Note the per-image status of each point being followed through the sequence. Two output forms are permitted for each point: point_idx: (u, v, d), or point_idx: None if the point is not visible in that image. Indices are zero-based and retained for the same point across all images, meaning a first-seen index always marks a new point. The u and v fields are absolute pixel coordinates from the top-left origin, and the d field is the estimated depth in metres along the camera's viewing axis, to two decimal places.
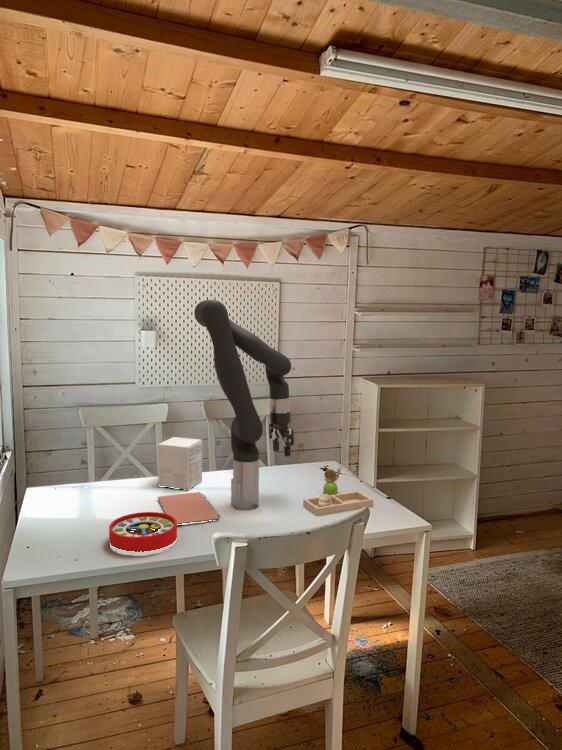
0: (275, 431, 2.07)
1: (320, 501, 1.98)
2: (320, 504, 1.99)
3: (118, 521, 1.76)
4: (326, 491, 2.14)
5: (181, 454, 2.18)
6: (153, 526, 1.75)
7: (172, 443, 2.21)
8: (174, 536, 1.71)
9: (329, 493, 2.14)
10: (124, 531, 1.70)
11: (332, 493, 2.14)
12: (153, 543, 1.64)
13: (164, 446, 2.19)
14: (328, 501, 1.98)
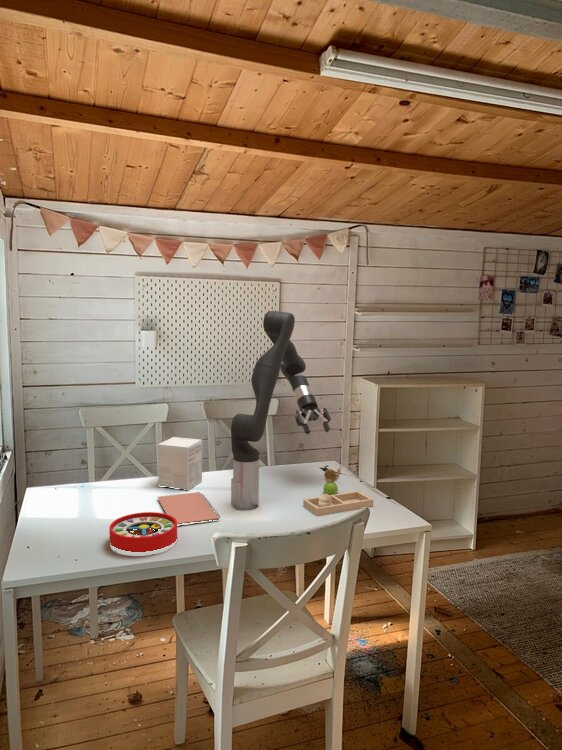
0: (311, 412, 2.27)
1: (320, 501, 1.98)
2: (320, 504, 1.99)
3: (119, 521, 1.76)
4: (326, 491, 2.14)
5: (181, 454, 2.18)
6: (153, 526, 1.75)
7: (172, 443, 2.21)
8: (174, 536, 1.70)
9: (329, 493, 2.14)
10: (124, 531, 1.70)
11: (332, 493, 2.14)
12: (153, 543, 1.64)
13: (164, 446, 2.19)
14: (328, 501, 1.98)
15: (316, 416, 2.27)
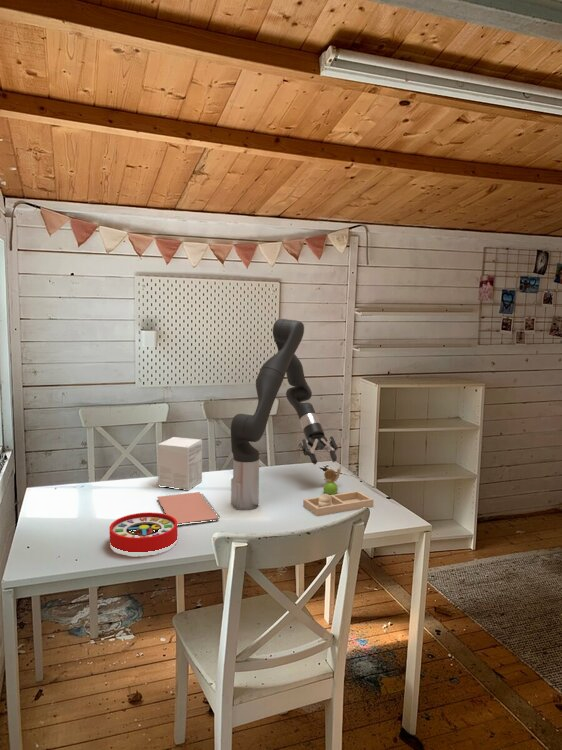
0: (317, 441, 2.23)
1: (320, 501, 1.98)
2: (320, 504, 1.99)
3: (118, 522, 1.75)
4: (326, 491, 2.14)
5: (181, 454, 2.18)
6: (154, 527, 1.75)
7: (172, 443, 2.21)
8: (175, 537, 1.70)
9: (329, 493, 2.14)
10: (124, 532, 1.69)
11: (332, 493, 2.14)
12: (153, 544, 1.64)
13: (164, 446, 2.19)
14: (328, 501, 1.98)
15: (323, 445, 2.23)
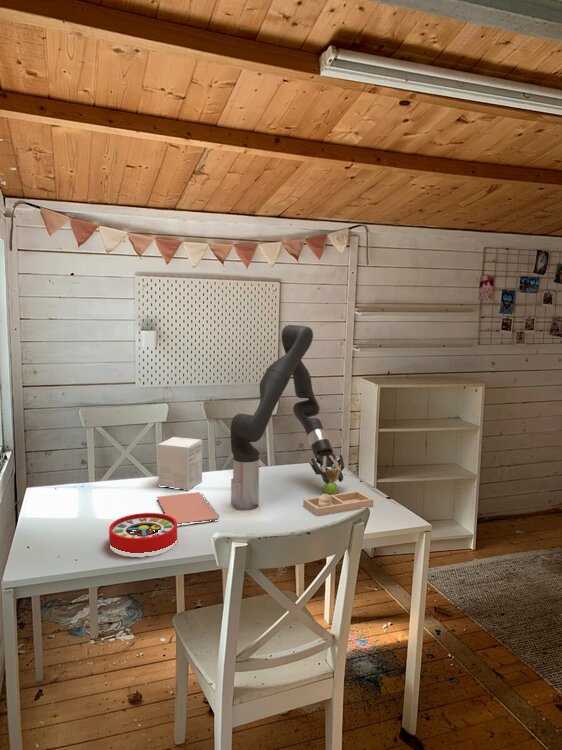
0: (326, 458, 2.17)
1: (320, 501, 1.98)
2: (320, 504, 1.99)
3: (118, 522, 1.75)
4: (326, 491, 2.14)
5: (181, 454, 2.18)
6: (153, 527, 1.74)
7: (172, 443, 2.21)
8: (174, 537, 1.70)
9: (329, 493, 2.14)
10: (124, 532, 1.69)
11: (332, 493, 2.14)
12: (153, 544, 1.63)
13: (164, 446, 2.19)
14: (328, 501, 1.98)
15: (330, 462, 2.18)
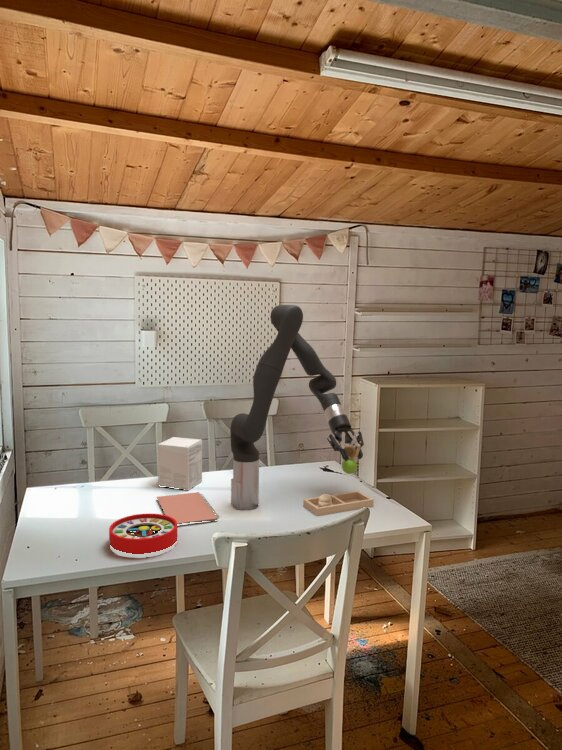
0: (344, 434, 2.06)
1: (320, 501, 1.98)
2: (320, 504, 1.99)
3: (118, 523, 1.75)
4: (345, 469, 2.02)
5: (181, 454, 2.18)
6: (153, 528, 1.74)
7: (172, 443, 2.21)
8: (174, 538, 1.69)
9: (348, 471, 2.02)
10: (124, 533, 1.68)
11: (351, 471, 2.02)
12: (153, 545, 1.63)
13: (164, 446, 2.19)
14: (328, 501, 1.98)
15: (349, 439, 2.06)
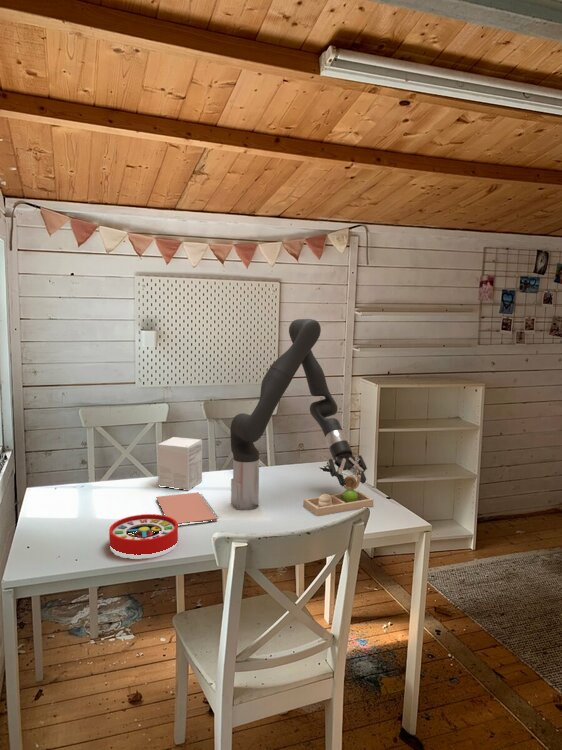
0: (345, 461, 2.06)
1: (320, 501, 1.98)
2: (320, 504, 1.99)
3: (118, 523, 1.74)
4: (345, 499, 2.03)
5: (181, 454, 2.18)
6: (154, 529, 1.73)
7: (172, 443, 2.21)
8: (175, 539, 1.69)
9: (349, 501, 2.03)
10: (124, 534, 1.68)
11: (352, 501, 2.03)
12: (154, 546, 1.62)
13: (164, 446, 2.19)
14: (328, 501, 1.98)
15: (351, 465, 2.06)
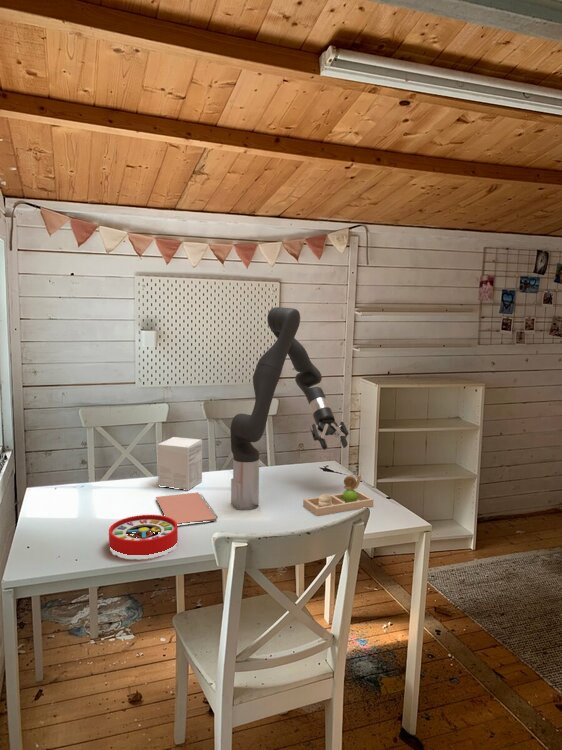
0: (328, 426, 2.16)
1: (320, 501, 1.98)
2: (320, 504, 1.99)
3: (118, 524, 1.74)
4: (345, 499, 2.03)
5: (181, 454, 2.18)
6: (153, 529, 1.73)
7: (172, 443, 2.21)
8: (175, 539, 1.68)
9: (349, 501, 2.03)
10: (124, 534, 1.67)
11: (352, 501, 2.03)
12: (153, 546, 1.62)
13: (164, 446, 2.19)
14: (328, 501, 1.98)
15: (333, 430, 2.16)
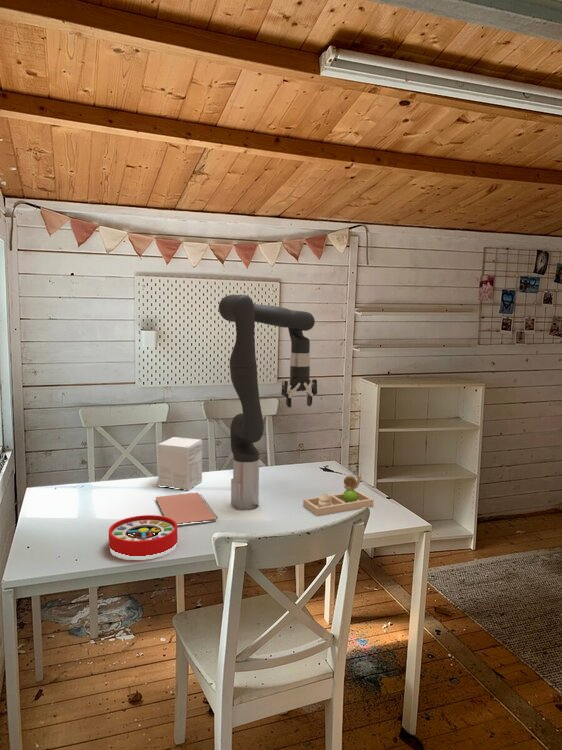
0: (299, 385, 2.15)
1: (320, 501, 1.98)
2: (320, 504, 1.99)
3: (118, 524, 1.73)
4: (345, 499, 2.03)
5: (181, 454, 2.18)
6: (153, 530, 1.72)
7: (172, 443, 2.21)
8: (174, 540, 1.68)
9: (349, 501, 2.03)
10: (124, 535, 1.67)
11: (352, 501, 2.03)
12: (153, 547, 1.61)
13: (164, 446, 2.19)
14: (328, 501, 1.98)
15: (303, 389, 2.17)
